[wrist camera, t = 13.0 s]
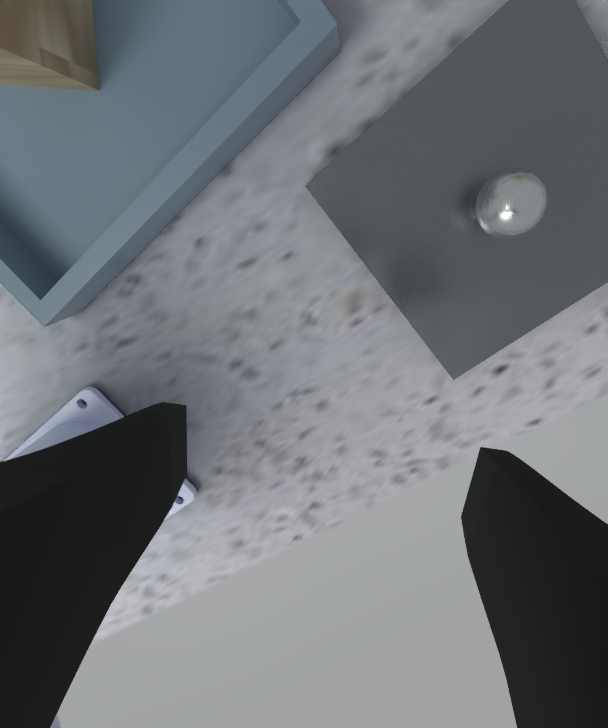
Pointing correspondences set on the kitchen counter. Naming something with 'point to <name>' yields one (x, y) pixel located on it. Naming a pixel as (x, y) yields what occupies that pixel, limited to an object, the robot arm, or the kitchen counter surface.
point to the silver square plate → (486, 184)
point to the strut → (48, 44)
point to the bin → (141, 134)
